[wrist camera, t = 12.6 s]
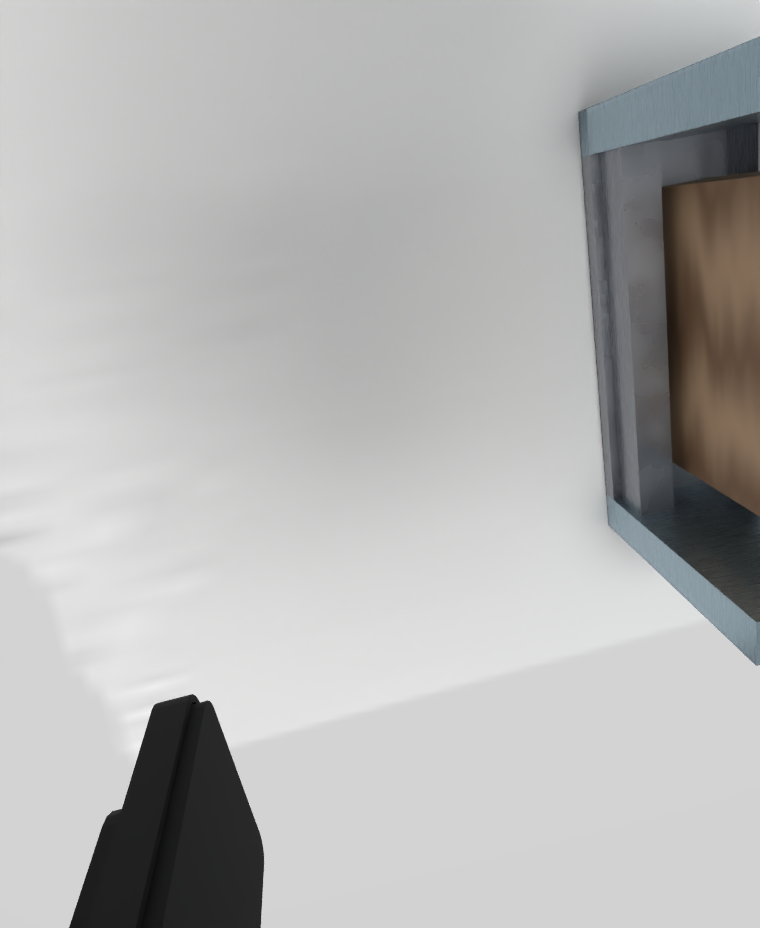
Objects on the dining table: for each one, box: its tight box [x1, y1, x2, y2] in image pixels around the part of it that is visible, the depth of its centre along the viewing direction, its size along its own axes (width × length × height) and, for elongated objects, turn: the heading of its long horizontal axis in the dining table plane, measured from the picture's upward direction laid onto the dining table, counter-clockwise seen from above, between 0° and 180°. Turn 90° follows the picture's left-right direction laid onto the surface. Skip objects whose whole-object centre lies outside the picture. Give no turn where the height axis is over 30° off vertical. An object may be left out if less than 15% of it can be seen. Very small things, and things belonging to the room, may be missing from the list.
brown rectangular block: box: [661, 171, 760, 516], centre depth 32 cm, size 14×3×9 cm, turn 10°
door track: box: [578, 37, 760, 665], centre depth 31 cm, size 22×9×14 cm, turn 10°
